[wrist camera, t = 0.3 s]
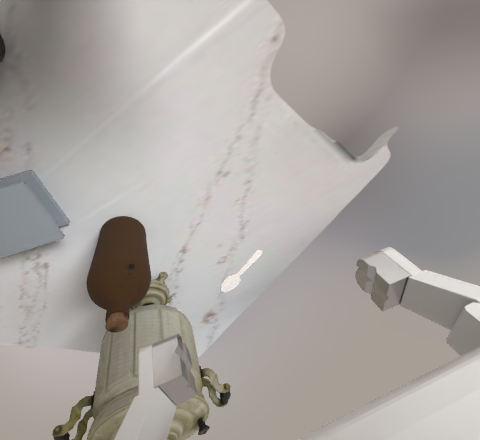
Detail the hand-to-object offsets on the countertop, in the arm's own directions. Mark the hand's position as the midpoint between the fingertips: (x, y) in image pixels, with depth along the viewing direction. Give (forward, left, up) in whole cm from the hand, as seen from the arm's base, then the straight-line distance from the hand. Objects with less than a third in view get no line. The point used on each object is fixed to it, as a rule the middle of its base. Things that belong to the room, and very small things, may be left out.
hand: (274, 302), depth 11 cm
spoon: (+49, +5, -48) cm, 69 cm away
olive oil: (+23, -19, -48) cm, 56 cm away
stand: (+10, -33, -47) cm, 58 cm away
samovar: (+45, -23, -48) cm, 70 cm away
